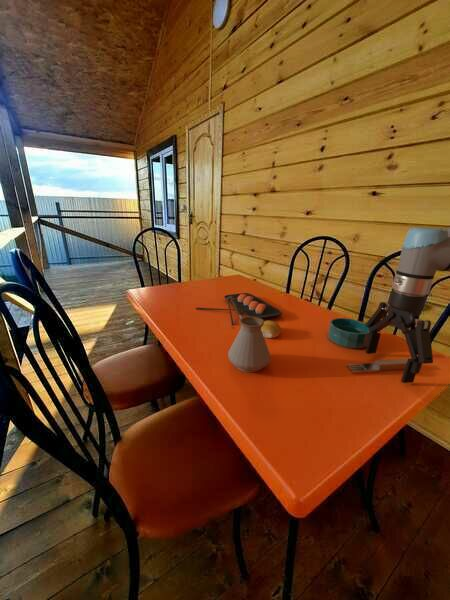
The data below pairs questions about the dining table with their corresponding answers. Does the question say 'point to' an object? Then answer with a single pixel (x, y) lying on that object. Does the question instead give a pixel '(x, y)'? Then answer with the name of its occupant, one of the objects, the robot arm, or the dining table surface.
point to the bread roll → (270, 329)
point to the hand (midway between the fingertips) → (387, 366)
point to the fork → (378, 366)
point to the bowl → (348, 333)
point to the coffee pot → (249, 344)
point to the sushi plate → (250, 306)
